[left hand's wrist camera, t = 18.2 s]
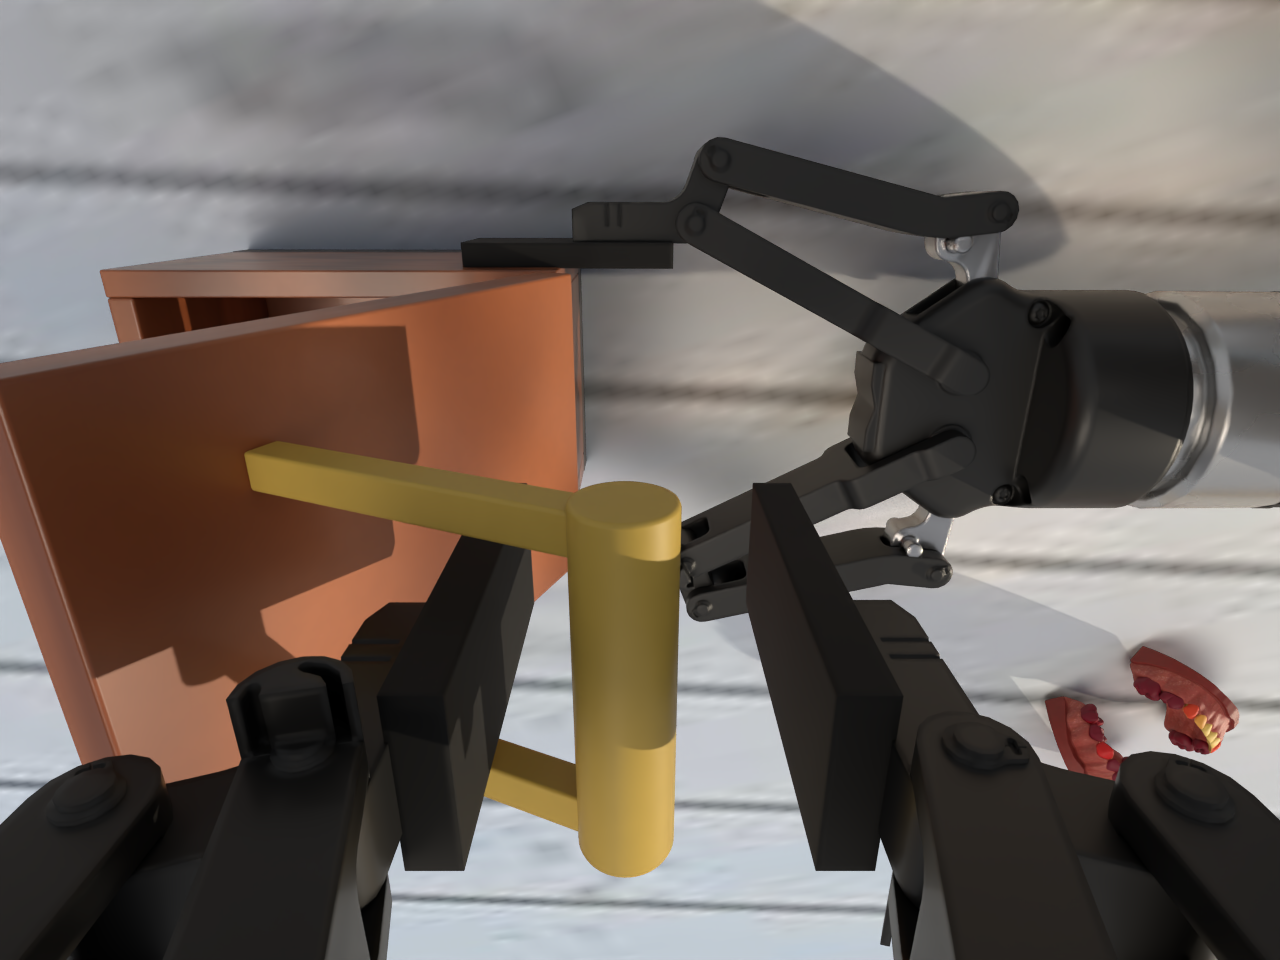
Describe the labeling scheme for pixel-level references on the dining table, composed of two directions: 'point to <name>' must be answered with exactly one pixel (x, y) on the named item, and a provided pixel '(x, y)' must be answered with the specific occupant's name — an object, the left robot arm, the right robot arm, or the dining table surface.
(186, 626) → the lid
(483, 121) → the dining table surface
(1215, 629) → the dining table surface
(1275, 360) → the right robot arm
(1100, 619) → the dining table surface
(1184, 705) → the dental model
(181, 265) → the chest
